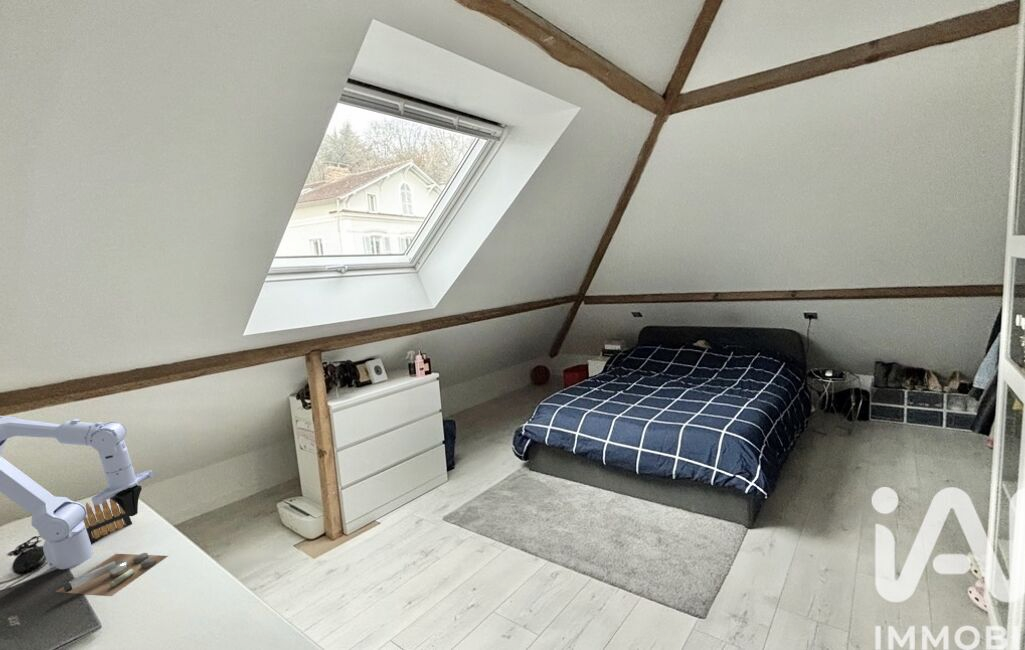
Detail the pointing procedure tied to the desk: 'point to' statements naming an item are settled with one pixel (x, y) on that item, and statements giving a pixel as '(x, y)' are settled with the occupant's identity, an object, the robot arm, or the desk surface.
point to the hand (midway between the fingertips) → (132, 514)
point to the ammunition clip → (105, 520)
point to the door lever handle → (97, 574)
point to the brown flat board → (113, 585)
